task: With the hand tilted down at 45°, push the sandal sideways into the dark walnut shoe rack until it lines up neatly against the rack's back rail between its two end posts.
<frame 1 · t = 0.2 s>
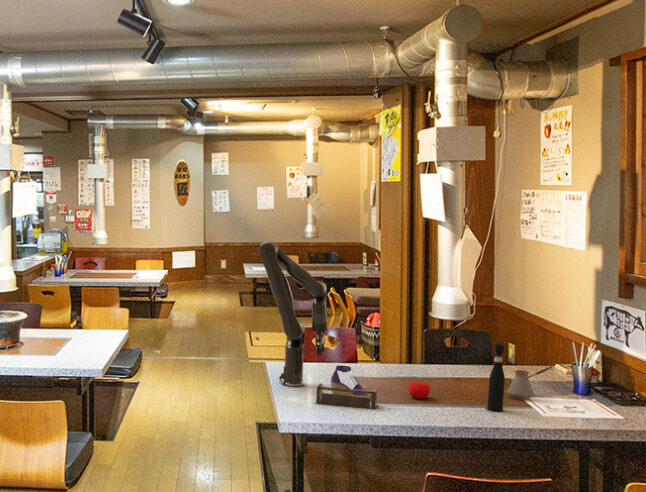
hand: (320, 353, 380), 17 cm above the table, tool pointing down, fingers open, 8 cm apart
coffee pot: (529, 398, 360), on the table
shoe rack: (347, 403, 353), on the table
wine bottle: (494, 410, 341), on the table
tomato: (419, 398, 361), on the table
sandal: (351, 396, 365), on the table
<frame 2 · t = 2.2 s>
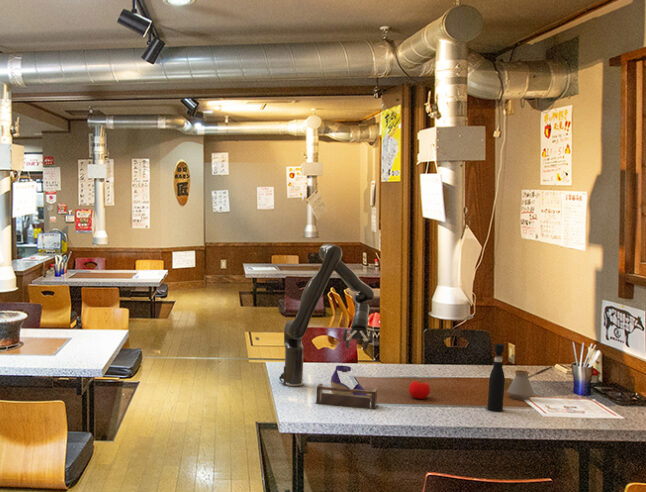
hand: (356, 348, 373), 21 cm above the table, tool tilted 45°, fingers open, 8 cm apart
nothing on the table moved.
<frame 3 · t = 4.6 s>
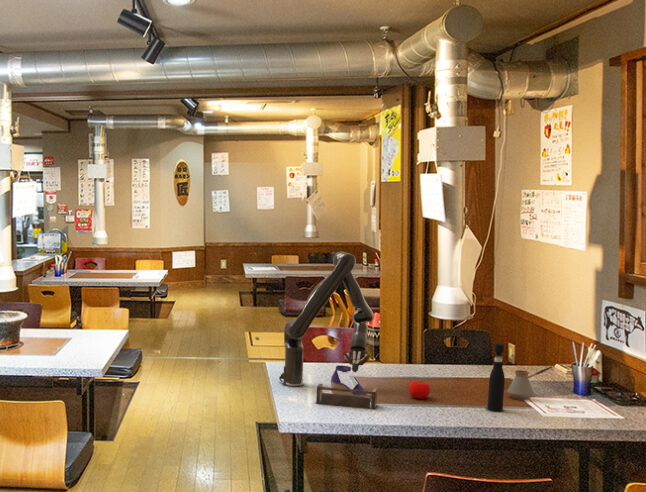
hand: (354, 371, 371), 10 cm above the table, tool tilted 45°, fingers closed
nothing on the table moved.
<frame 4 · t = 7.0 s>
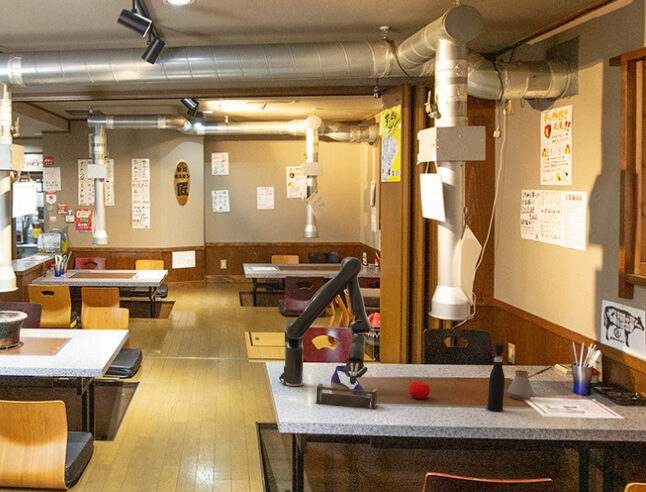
hand: (352, 383, 365), 6 cm above the table, tool tilted 45°, fingers closed
sandal: (351, 396, 364), on the table, touching gripper
everything else where it was.
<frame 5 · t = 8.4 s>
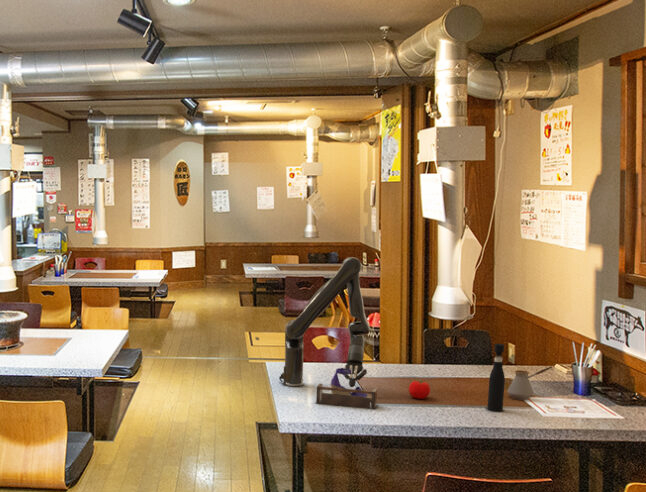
hand: (351, 386, 360), 6 cm above the table, tool tilted 45°, fingers closed
sandal: (351, 399, 359), on the table, touching gripper
everything else where it was.
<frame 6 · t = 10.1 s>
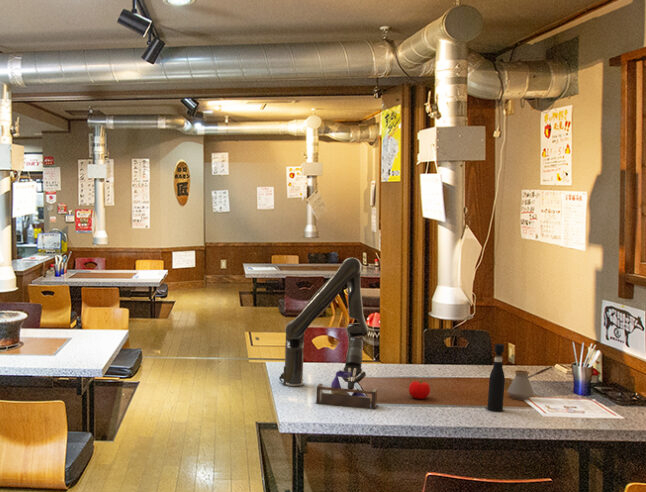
hand: (350, 389, 355), 6 cm above the table, tool tilted 45°, fingers closed
sandal: (351, 402, 354), on the table, touching gripper, shoe rack
everything else where it was.
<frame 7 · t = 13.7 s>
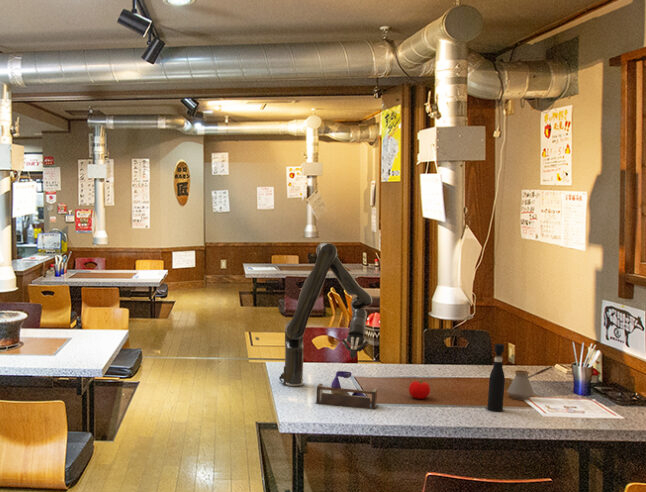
hand: (352, 357, 362), 19 cm above the table, tool tilted 45°, fingers closed
sandal: (351, 402, 354), on the table
everything else where it was.
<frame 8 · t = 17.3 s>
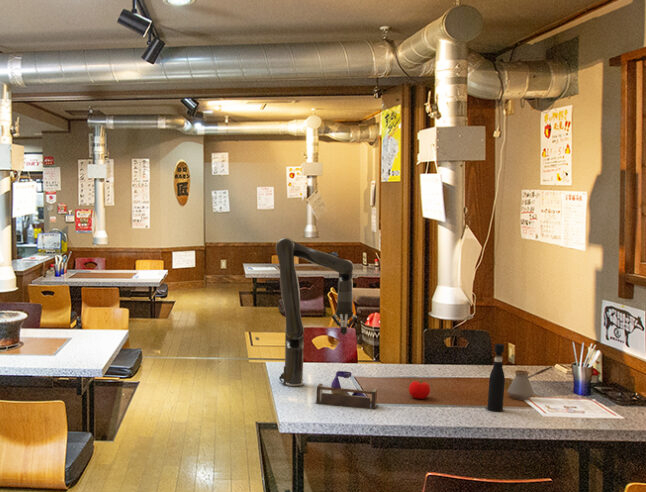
hand: (343, 334, 378), 27 cm above the table, tool pointing down, fingers closed
nothing on the table moved.
at the end: sandal inside the target area (2.6 cm from its centre), on the table; sandal tilted 0°; sandal moved 11.2 cm from its start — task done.
